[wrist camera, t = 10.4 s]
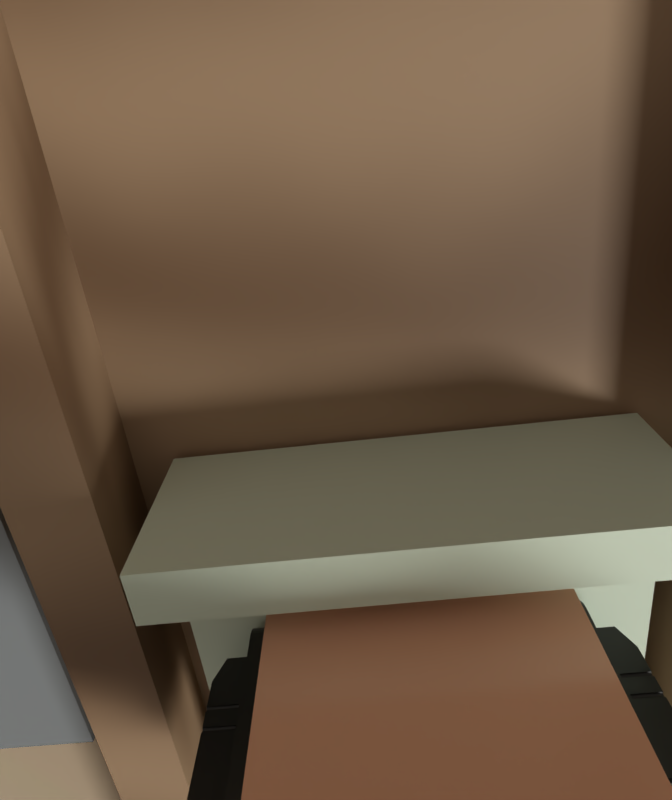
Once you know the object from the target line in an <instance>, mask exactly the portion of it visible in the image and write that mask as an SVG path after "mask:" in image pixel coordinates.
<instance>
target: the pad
mask: <svg viewBox="0 0 672 800" xmlns="http://www.w3.org/2000/svg"><path fill="white" fill-rule="evenodd" d="M94 738H95V735H94V733H93V730H92V728H91V725H90V723H89V721H88V718H87V716H86V713H85V711H84V709H83V706H82V704H81V701H80V699H79V696H78V694H77V692H76V689H75V687H74V684H73V682H72V680H71V677H70V675H69V672H68V670H67V667H66V665H65V663H64V660H63V658H62V655H61V653H60V650H59V648H58V646H57V643H56V641H55V638H54V636H53V634H52V631H51V629H50V626H49V624H48V621H47V619H46V617H45V614H44V612H43V609H42V607H41V605H40V602H39V600H38V597H37V595H36V592H35V590H34V588H33V585H32V583H31V580H30V578H29V575H28V573H27V571H26V568H25V566H24V563H23V561H22V559H21V556H20V554H19V551H18V549H17V546H16V544H15V542H14V539H13V537H12V534H11V532H10V530H9V527H8V525H7V522H6V520H5V517H4V515H3V513H2V510H1V508H0V749H3V748H16V747H29V746H42V745H55V744H68V743H81V742H93V741H94Z"/></svg>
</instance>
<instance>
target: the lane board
mask: <svg viewBox="0 0 672 800" xmlns="http://www.w3.org/2000/svg"><path fill="white" fill-rule="evenodd" d="M629 413H638V414H639V415H640V416H641V417H642V418H643V419H644V420H645V421H646V423H647V424H648V425H649V426H650V427H651V428H652V429H653V430H654V431H655V432H656V433H657V434H658V435H659V436H660V437H661V438H662V439H663V440H664V441H665V442H666V443H667V444H668V445H669V446H670V447H671V448H672V0H0V508H1V510H2V513H3V515H4V517H5V520H6V522H7V525H8V527H9V530H10V532H11V534H12V537H13V539H14V542H15V544H16V546H17V549H18V551H19V554H20V556H21V559H22V561H23V563H24V566H25V568H26V571H27V573H28V575H29V578H30V580H31V583H32V585H33V588H34V590H35V592H36V595H37V597H38V600H39V602H40V605H41V607H42V609H43V612H44V614H45V617H46V619H47V621H48V624H49V626H50V629H51V631H52V634H53V636H54V638H55V641H56V643H57V646H58V648H59V650H60V653H61V655H62V658H63V660H64V663H65V665H66V667H67V670H68V672H69V675H70V677H71V680H72V682H73V684H74V687H75V689H76V692H77V694H78V696H79V699H80V701H81V704H82V706H83V709H84V711H85V713H86V716H87V718H88V721H89V723H90V725H91V728H92V730H93V733H94V735H95V738H96V740H97V742H98V745H99V747H100V750H101V752H102V755H103V757H104V759H105V762H106V764H107V767H108V769H109V771H110V774H111V776H112V779H113V781H114V784H115V786H116V788H117V791H118V793H119V796H120V798H121V800H187V797H188V792H189V787H190V783H191V778H192V773H193V769H194V764H195V759H196V755H197V750H198V745H199V740H200V736H201V733H202V731H203V729H202V726H203V722H204V717H205V712H206V711H207V703H208V698H209V694H210V690H209V687H208V683H207V680H206V676H205V673H204V669H203V666H202V662H201V659H200V655H199V652H198V648H197V645H196V641H195V638H194V634H193V631H192V627H191V623H190V622H179V623H167V624H156V625H144V626H136V624H135V621H134V618H133V615H132V612H131V609H130V606H129V603H128V600H127V597H126V594H125V591H124V588H123V585H122V582H121V579H120V574H121V571H122V569H123V567H124V565H125V563H126V561H127V559H128V556H129V554H130V552H131V550H132V548H133V546H134V543H135V541H136V539H137V537H138V535H139V533H140V531H141V528H142V526H143V524H144V522H145V520H146V518H147V515H148V513H149V511H150V509H151V507H152V505H153V503H154V500H155V498H156V496H157V494H158V492H159V490H160V487H161V485H162V483H163V481H164V479H165V477H166V475H167V472H168V470H169V468H170V466H171V464H172V462H173V459H175V458H185V457H195V456H205V455H215V454H226V453H236V452H246V451H256V450H266V449H276V448H286V447H296V446H306V445H316V444H326V443H336V442H347V441H357V440H367V439H377V438H387V437H397V436H407V435H417V434H427V433H437V432H447V431H457V430H468V429H478V428H488V427H498V426H508V425H518V424H528V423H538V422H548V421H558V420H568V419H578V418H589V417H599V416H609V415H619V414H629ZM645 661H646V662H647V664H648V666H649V668H650V669H651V672H652V676H654V677H655V678H656V680H657V682H658V684H659V685H660V687H661V689H662V691H663V695H664V697H666V698H667V700H668V701H669V703H670V705H671V707H672V580H667V581H655V586H654V593H653V600H652V608H651V615H650V623H649V630H648V638H647V645H646V652H645Z"/></svg>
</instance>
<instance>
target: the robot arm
mask: <svg viewBox="0 0 672 800" xmlns="http://www.w3.org/2000/svg"><path fill="white" fill-rule="evenodd" d="M580 602H581V604H582V606H583V608H584V610H585V612H586V614H587V616H588V618H589V620H590V622H591V624H592V626H593V628H594V630H595V632H596V634H597V636H598V638H599V640H600V642H601V645H602V647H603V649H604V651H605V653H606V655H607V657H608V659H609V661H610V663H611V665H612V667H613V669H614V671H615V673H616V675H617V677H618V679H619V681H620V683H621V685H622V687H623V689H624V691H625V693H626V695H627V697H628V699H629V701H630V703H631V705H632V707H633V709H634V711H635V713H636V715H637V717H638V719H639V721H640V723H641V725H642V727H643V729H644V731H645V733H646V735H647V737H648V739H649V741H650V743H651V745H652V747H653V749H654V751H655V753H656V755H657V757H658V759H659V761H660V764H661V766H662V768H663V770H664V772H665V774H666V776H667V778H668V780H669V782H670V784H671V786H672V707H671V705H670V703H669V701H668V700H667V698H666V697H664V695H663V691H662V689H661V687H660V685H659V684H658V682H657V680H656V678H655V677H654V676H652V672H651V669H650V668H649V666H648V664H647V662H646V661H645V659H644V657H643V655H642V653H641V652H640V650H639V648H638V647H637V646H636V645H635V644H634V643H633V642H632V641H631V640H630V639H628V638H627V637H626V636H625V635H624V634H623V633H622V632H621V631H619V630H618V629H617V628H616V627H615V626H613V627H601V628H596V626H595V624H594V622H593V620H592V618H591V616H590V614H589V612H588V610H587V608H586V606H585V605H584V603H583V602H582V601H580ZM264 628H265V627H264ZM264 628H253V629H252V631H251V635H250V640H249V647H248V653H247V657H239V658H227V659H226V661H225V663H224V664H223V666H222V667H221V669H220V670H219V672H218V673H217V675H216V676H215V678H214V679H213V681H212V684H211V689H210V694H209V698H208V703H207V711H206V712H205V717H204V722H203V726H202V729H203V731H202V733H201V736H200V740H199V745H198V750H197V755H196V759H195V764H194V769H193V773H192V778H191V783H190V787H189V792H188V797H187V800H241V796H242V788H243V781H244V774H245V766H246V759H247V752H248V745H249V737H250V730H251V723H252V715H253V708H254V701H255V693H256V686H257V679H258V672H259V664H260V657H261V650H262V642H263V635H264Z"/></svg>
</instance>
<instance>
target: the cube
mask: <svg viewBox="0 0 672 800" xmlns="http://www.w3.org/2000/svg"><path fill="white" fill-rule="evenodd" d="M241 800H672V786H671V784H670V782H669V780H668V778H667V776H666V774H665V772H664V770H663V768H662V766H661V764H660V761H659V759H658V757H657V755H656V753H655V751H654V749H653V747H652V745H651V743H650V741H649V739H648V737H647V735H646V733H645V731H644V729H643V727H642V725H641V723H640V721H639V719H638V717H637V715H636V713H635V711H634V709H633V707H632V705H631V703H630V701H629V699H628V697H627V695H626V693H625V691H624V689H623V687H622V685H621V683H620V681H619V679H618V677H617V675H616V673H615V671H614V669H613V667H612V665H611V663H610V661H609V659H608V657H607V655H606V653H605V651H604V649H603V647H602V645H601V642H600V640H599V638H598V636H597V634H596V632H595V630H594V628H593V626H592V624H591V622H590V620H589V618H588V616H587V614H586V612H585V610H584V608H583V606H582V604H581V602H580V600H579V598H578V596H577V594H576V592H575V590H574V589H562V590H551V591H539V592H527V593H516V594H504V595H493V596H481V597H469V598H458V599H446V600H434V601H423V602H411V603H400V604H388V605H376V606H365V607H353V608H341V609H330V610H318V611H307V612H295V613H283V614H272V615H266V621H265V628H264V635H263V642H262V650H261V657H260V664H259V672H258V679H257V686H256V693H255V701H254V708H253V715H252V723H251V730H250V737H249V745H248V752H247V759H246V766H245V774H244V781H243V788H242V796H241Z"/></svg>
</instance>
